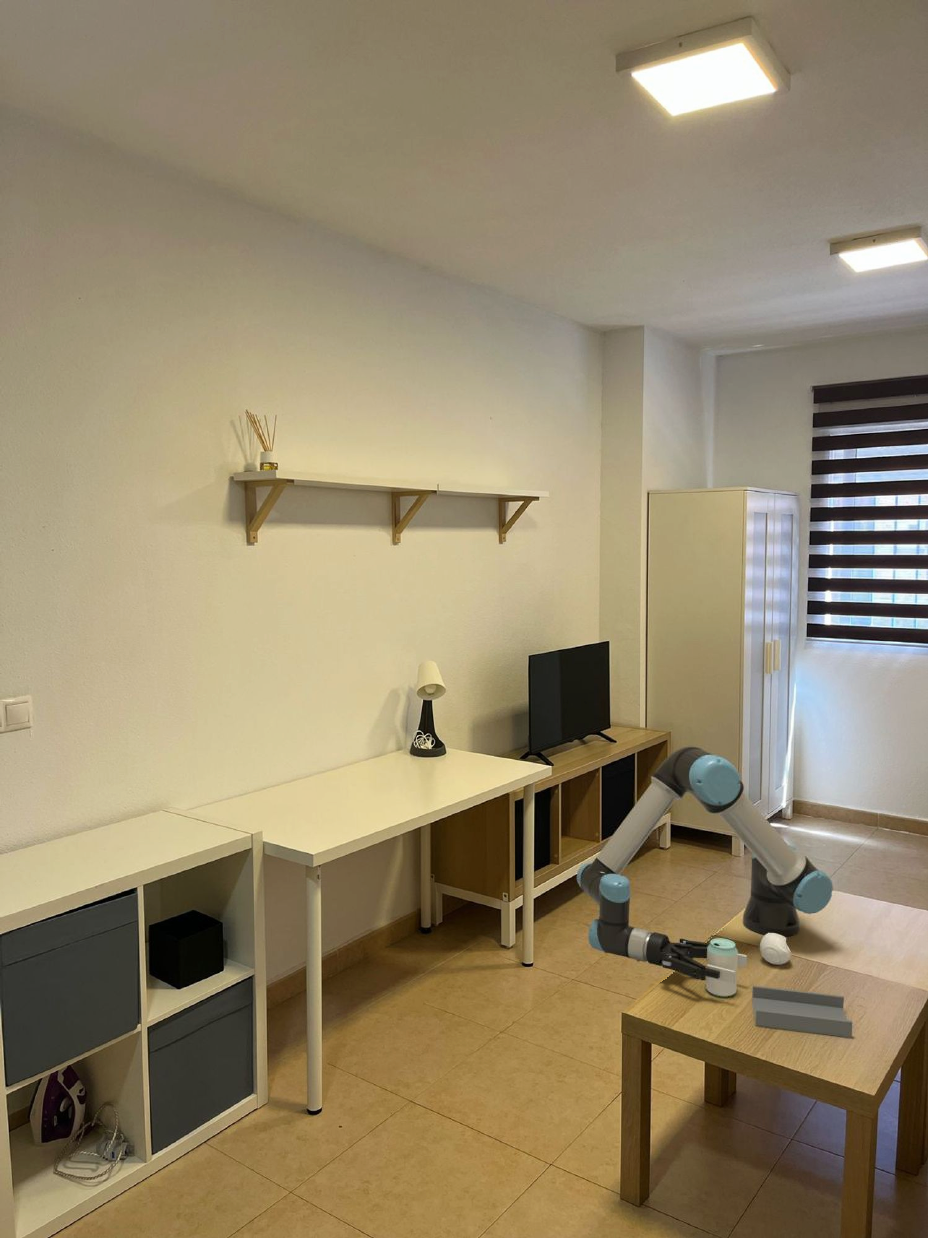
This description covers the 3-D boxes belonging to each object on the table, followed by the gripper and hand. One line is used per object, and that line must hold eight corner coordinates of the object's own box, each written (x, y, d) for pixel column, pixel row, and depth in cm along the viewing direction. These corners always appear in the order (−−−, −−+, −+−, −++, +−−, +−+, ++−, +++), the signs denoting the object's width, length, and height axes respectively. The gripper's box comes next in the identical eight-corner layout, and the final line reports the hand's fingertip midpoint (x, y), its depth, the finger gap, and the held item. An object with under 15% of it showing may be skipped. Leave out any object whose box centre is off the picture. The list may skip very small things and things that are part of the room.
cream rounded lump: (793, 971, 240) (795, 941, 239) (762, 969, 240) (763, 939, 240) (786, 957, 247) (788, 928, 247) (756, 955, 248) (758, 926, 248)
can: (727, 1001, 223) (729, 952, 222) (700, 991, 228) (702, 942, 227) (741, 992, 228) (743, 943, 227) (715, 982, 233) (716, 934, 232)
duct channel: (752, 999, 224) (752, 985, 224) (842, 1010, 219) (843, 996, 219) (755, 1026, 212) (756, 1010, 211) (851, 1038, 207) (852, 1022, 207)
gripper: (664, 946, 246) (752, 967, 235) (633, 978, 227) (726, 1003, 216) (665, 918, 246) (753, 938, 234) (634, 948, 227) (728, 971, 215)
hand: (740, 969), depth 225 cm, fingers open, 9 cm apart
